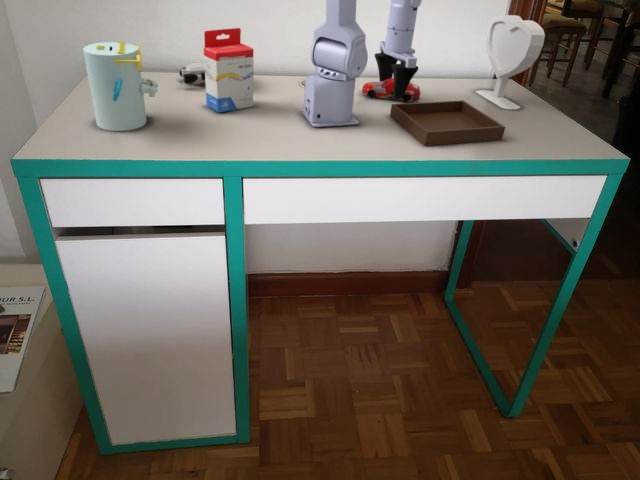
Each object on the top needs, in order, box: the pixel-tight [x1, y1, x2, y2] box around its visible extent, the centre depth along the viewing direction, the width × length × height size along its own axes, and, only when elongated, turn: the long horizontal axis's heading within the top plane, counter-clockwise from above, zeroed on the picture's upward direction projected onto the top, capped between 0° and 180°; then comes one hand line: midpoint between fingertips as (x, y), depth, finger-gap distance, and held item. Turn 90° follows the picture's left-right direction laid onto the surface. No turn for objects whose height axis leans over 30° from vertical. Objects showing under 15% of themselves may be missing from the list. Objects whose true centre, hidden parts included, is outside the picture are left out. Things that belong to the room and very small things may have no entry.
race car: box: [361, 77, 422, 103], centre depth 117 cm, size 13×5×4 cm, turn 80°
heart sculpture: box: [475, 14, 546, 110], centre depth 117 cm, size 16×5×18 cm, turn 18°
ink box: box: [203, 27, 254, 114], centre depth 102 cm, size 8×5×15 cm, turn 129°
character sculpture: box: [82, 41, 159, 132], centre depth 92 cm, size 20×12×13 cm, turn 17°
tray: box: [389, 100, 506, 147], centre depth 104 cm, size 17×15×3 cm
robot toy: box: [175, 62, 206, 86], centre depth 116 cm, size 12×4×15 cm
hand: (391, 91), depth 117 cm, fingers closed on race car, 7 cm apart
